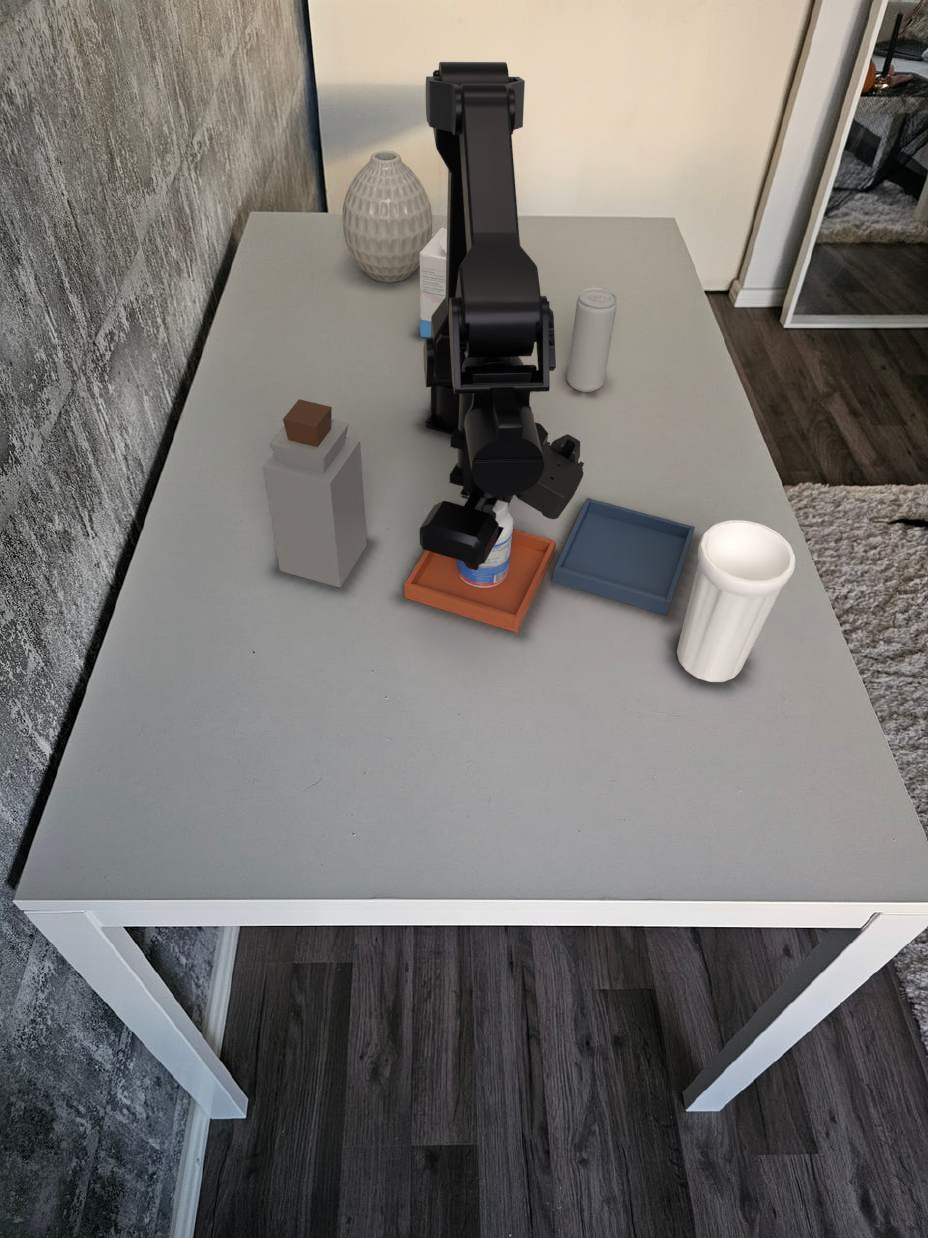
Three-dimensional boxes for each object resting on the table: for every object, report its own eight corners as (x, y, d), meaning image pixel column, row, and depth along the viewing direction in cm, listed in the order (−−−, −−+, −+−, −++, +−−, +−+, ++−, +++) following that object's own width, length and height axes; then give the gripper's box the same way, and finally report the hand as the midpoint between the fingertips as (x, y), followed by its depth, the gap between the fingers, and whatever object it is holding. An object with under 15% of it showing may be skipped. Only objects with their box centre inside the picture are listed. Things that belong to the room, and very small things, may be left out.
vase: (344, 253, 139) (337, 137, 127) (428, 251, 140) (428, 136, 128) (346, 295, 130) (338, 175, 118) (435, 293, 132) (437, 174, 119)
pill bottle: (454, 553, 95) (456, 480, 87) (505, 551, 95) (512, 478, 88) (458, 591, 91) (461, 518, 84) (511, 589, 92) (519, 516, 84)
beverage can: (601, 396, 116) (616, 309, 107) (563, 390, 116) (575, 303, 107) (605, 375, 119) (619, 289, 110) (568, 370, 119) (580, 284, 110)
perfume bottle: (366, 544, 96) (357, 400, 83) (340, 587, 92) (325, 442, 78) (308, 529, 97) (290, 384, 84) (279, 570, 93) (255, 425, 80)
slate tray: (552, 581, 93) (554, 568, 92) (584, 510, 101) (587, 497, 99) (666, 615, 90) (670, 602, 89) (691, 539, 98) (695, 526, 97)
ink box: (477, 348, 122) (481, 252, 112) (418, 336, 124) (417, 240, 114) (496, 317, 128) (502, 223, 118) (440, 306, 129) (441, 212, 119)
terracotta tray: (404, 597, 91) (404, 584, 90) (449, 523, 99) (449, 510, 97) (517, 633, 88) (518, 620, 87) (554, 554, 96) (556, 540, 94)
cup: (733, 706, 83) (778, 599, 72) (652, 668, 86) (684, 560, 75) (763, 649, 88) (809, 541, 77) (685, 615, 91) (720, 506, 80)
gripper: (546, 510, 72) (529, 639, 83) (608, 386, 83) (586, 514, 95) (416, 474, 74) (417, 604, 86) (495, 358, 86) (486, 486, 97)
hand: (483, 549), depth 91 cm, fingers closed on pill bottle, 5 cm apart
